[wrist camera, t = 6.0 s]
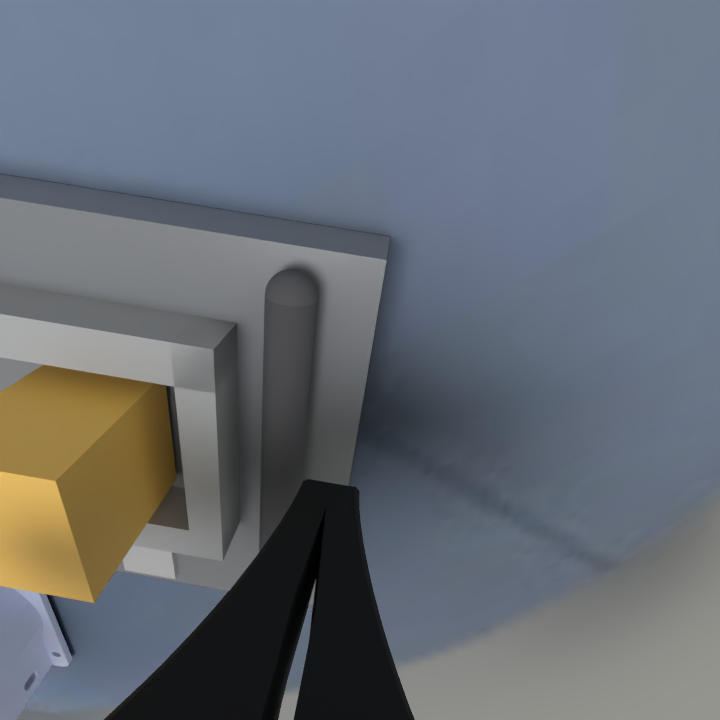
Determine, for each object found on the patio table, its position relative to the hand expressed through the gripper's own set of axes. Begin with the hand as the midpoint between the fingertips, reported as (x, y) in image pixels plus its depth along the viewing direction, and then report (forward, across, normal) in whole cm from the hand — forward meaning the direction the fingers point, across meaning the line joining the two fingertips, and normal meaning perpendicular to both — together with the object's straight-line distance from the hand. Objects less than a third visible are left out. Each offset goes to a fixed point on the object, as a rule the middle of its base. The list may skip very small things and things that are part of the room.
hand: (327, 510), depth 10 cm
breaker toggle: (+2, +7, 0) cm, 7 cm away
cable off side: (+2, +2, 0) cm, 3 cm away
